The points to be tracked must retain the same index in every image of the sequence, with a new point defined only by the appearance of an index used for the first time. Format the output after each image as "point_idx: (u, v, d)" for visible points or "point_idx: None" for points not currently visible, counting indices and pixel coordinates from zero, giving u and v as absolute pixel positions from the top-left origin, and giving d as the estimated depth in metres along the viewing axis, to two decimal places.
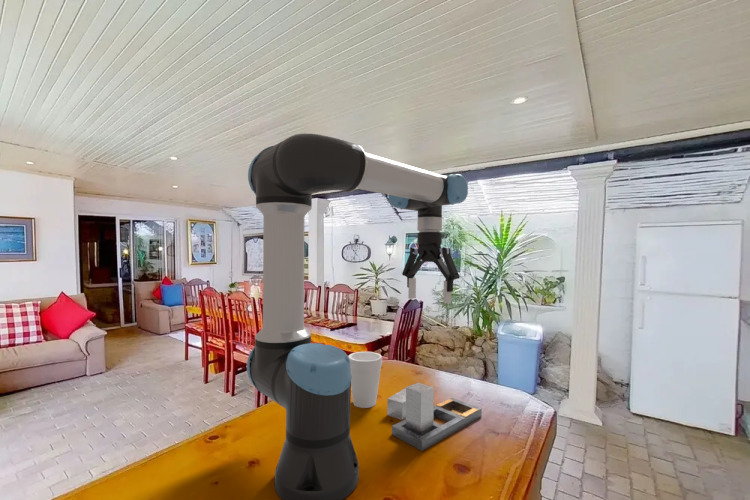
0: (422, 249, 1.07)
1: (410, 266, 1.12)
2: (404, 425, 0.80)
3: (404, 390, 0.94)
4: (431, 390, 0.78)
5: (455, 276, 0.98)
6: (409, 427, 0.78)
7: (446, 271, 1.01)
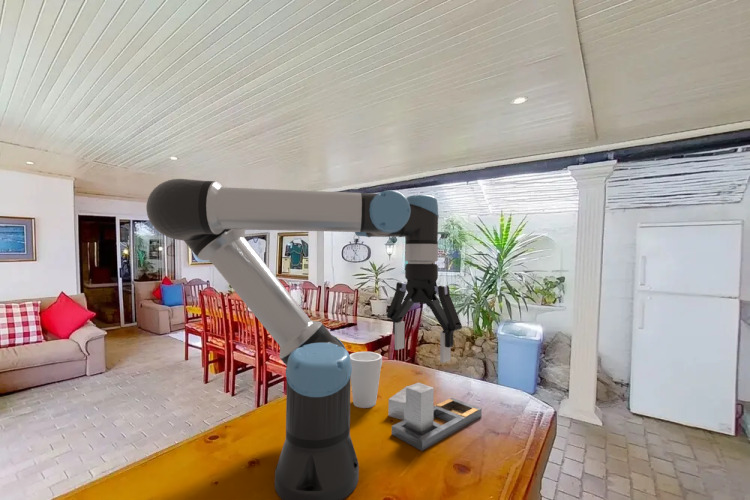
0: (412, 286, 0.80)
1: (397, 306, 0.85)
2: (404, 425, 0.80)
3: (403, 390, 0.94)
4: (431, 390, 0.78)
5: (456, 327, 0.72)
6: (409, 427, 0.78)
7: (444, 318, 0.74)
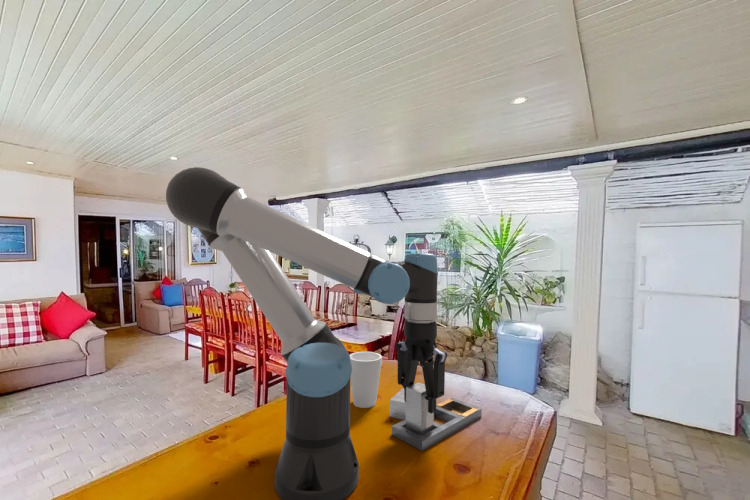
0: (410, 340, 0.80)
1: (404, 368, 0.83)
2: (404, 425, 0.80)
3: (403, 390, 0.94)
4: None
5: (438, 396, 0.74)
6: (409, 427, 0.78)
7: (431, 385, 0.76)
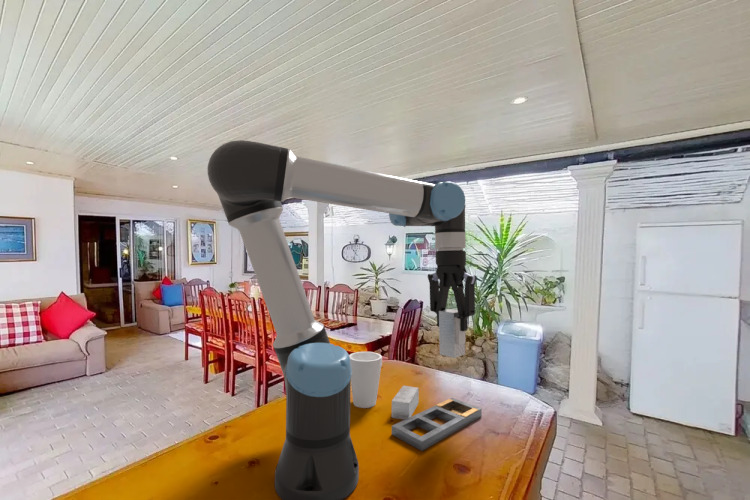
0: (441, 269, 0.88)
1: (436, 297, 0.91)
2: (404, 425, 0.80)
3: (402, 390, 0.94)
4: None
5: (470, 314, 0.82)
6: (443, 346, 0.86)
7: (462, 306, 0.84)
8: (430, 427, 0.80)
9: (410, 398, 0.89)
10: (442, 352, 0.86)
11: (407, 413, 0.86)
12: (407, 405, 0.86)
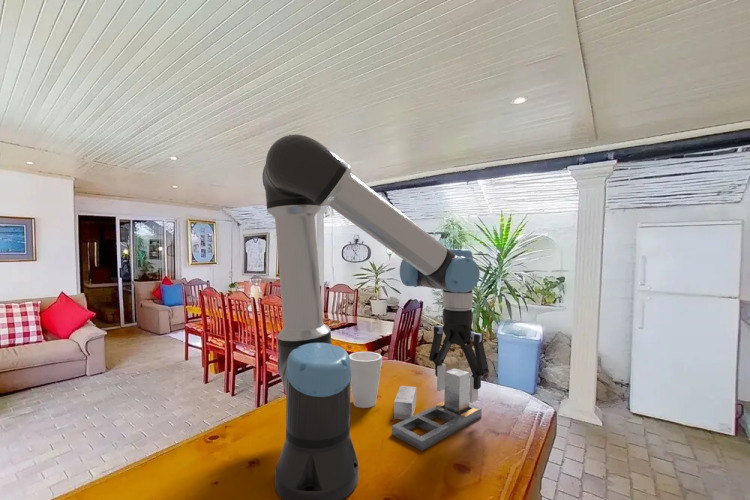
0: (448, 327, 0.90)
1: (437, 348, 0.94)
2: (404, 425, 0.80)
3: (401, 390, 0.94)
4: (467, 374, 0.89)
5: (484, 373, 0.83)
6: (448, 407, 0.88)
7: (474, 363, 0.85)
8: (430, 427, 0.80)
9: (411, 398, 0.89)
10: None
11: (410, 413, 0.86)
12: (410, 405, 0.86)
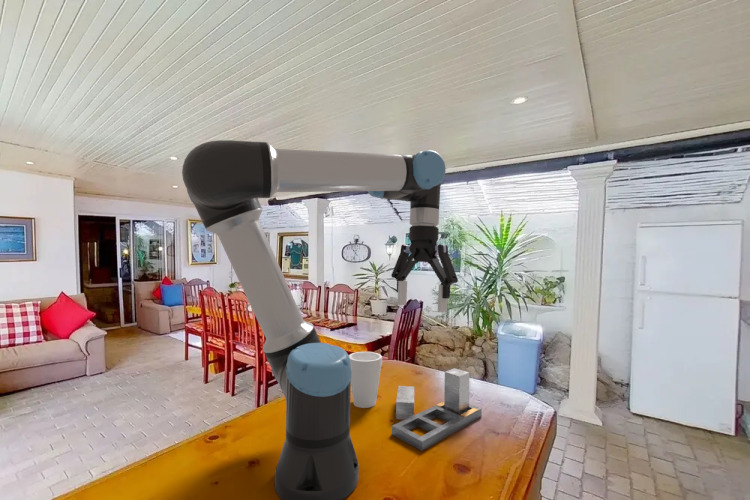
0: (415, 246, 0.90)
1: (401, 267, 0.95)
2: (404, 425, 0.80)
3: (400, 390, 0.94)
4: (467, 374, 0.89)
5: (452, 280, 0.81)
6: (448, 407, 0.88)
7: (442, 273, 0.83)
8: (430, 427, 0.80)
9: (412, 398, 0.90)
10: None
11: (412, 413, 0.86)
12: (412, 405, 0.86)
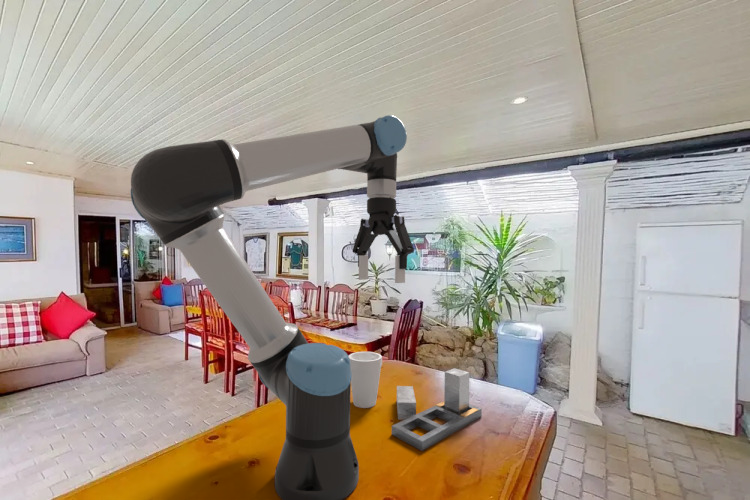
0: (373, 219, 0.89)
1: (361, 241, 0.94)
2: (404, 425, 0.80)
3: (399, 391, 0.94)
4: (467, 374, 0.89)
5: (408, 249, 0.80)
6: (448, 407, 0.88)
7: (399, 244, 0.83)
8: (430, 427, 0.80)
9: (413, 397, 0.90)
10: None
11: (414, 413, 0.87)
12: (414, 405, 0.87)
